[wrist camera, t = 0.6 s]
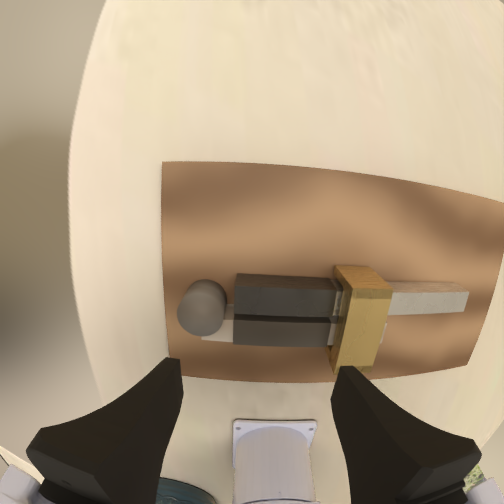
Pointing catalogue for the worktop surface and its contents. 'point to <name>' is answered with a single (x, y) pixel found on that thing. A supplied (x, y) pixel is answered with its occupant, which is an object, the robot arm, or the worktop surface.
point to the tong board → (316, 265)
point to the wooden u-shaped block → (359, 318)
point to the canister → (180, 493)
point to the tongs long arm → (337, 296)
